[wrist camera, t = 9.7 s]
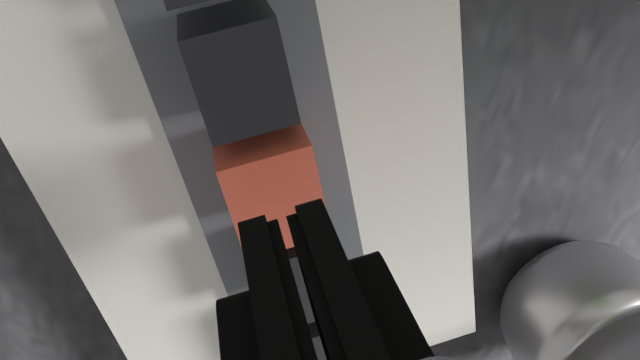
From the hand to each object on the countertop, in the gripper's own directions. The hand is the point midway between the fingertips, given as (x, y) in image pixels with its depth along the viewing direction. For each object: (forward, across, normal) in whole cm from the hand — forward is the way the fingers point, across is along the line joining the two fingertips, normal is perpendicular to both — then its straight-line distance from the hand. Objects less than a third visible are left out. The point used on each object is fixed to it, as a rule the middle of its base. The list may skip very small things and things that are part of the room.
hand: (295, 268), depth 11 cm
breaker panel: (+8, 0, 0) cm, 8 cm away
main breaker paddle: (+4, 0, 0) cm, 4 cm away
